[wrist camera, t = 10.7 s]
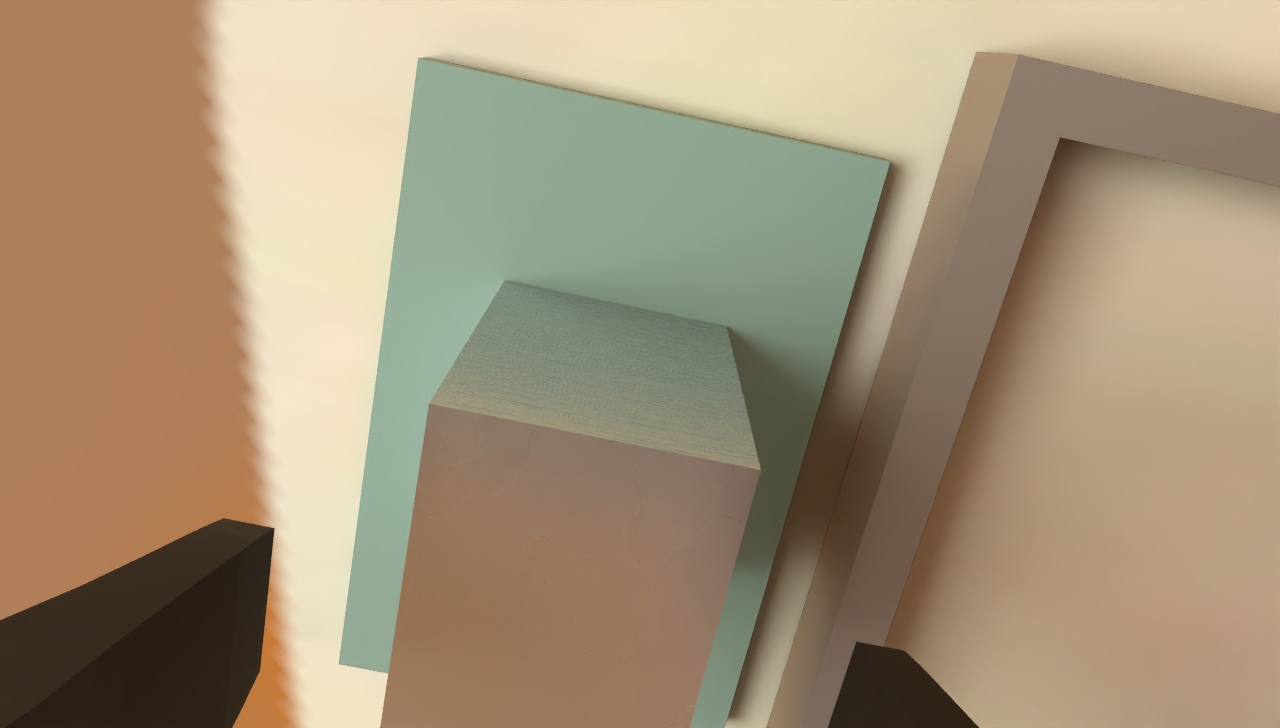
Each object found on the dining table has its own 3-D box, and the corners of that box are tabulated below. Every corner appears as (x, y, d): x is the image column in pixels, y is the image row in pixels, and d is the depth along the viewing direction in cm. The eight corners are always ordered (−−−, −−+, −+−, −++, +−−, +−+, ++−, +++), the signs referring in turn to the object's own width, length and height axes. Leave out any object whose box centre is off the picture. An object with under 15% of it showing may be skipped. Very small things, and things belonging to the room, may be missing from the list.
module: (666, 567, 19) (670, 797, 13) (462, 527, 19) (377, 744, 13) (726, 325, 17) (760, 469, 12) (505, 279, 17) (429, 404, 11)
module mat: (721, 719, 21) (722, 735, 20) (346, 649, 20) (338, 664, 20) (883, 158, 17) (890, 162, 16) (425, 57, 16) (417, 58, 16)
